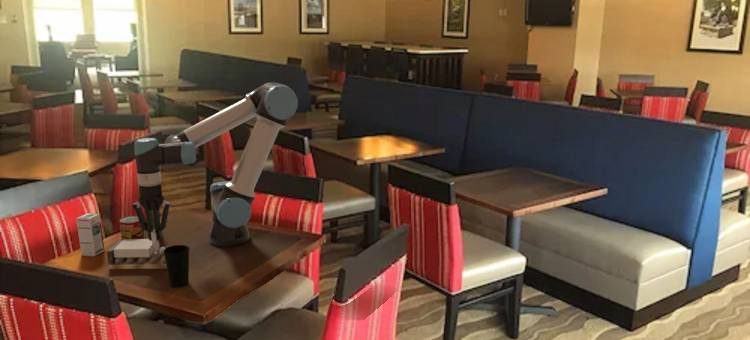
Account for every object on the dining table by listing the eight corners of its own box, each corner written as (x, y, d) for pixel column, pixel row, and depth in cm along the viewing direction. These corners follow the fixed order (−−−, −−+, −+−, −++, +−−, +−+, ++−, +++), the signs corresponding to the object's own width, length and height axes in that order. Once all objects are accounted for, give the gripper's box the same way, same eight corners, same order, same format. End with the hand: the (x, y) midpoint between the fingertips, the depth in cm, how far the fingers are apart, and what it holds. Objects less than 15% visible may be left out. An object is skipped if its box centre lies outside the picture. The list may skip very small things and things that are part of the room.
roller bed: (183, 255, 222) (182, 238, 220) (173, 268, 210) (171, 250, 209) (122, 256, 222) (120, 239, 220) (108, 269, 210) (106, 251, 208)
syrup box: (95, 256, 221) (90, 218, 218) (80, 255, 222) (75, 217, 219) (105, 251, 227) (100, 213, 223) (90, 250, 228) (86, 212, 224)
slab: (159, 246, 220) (158, 238, 219) (149, 257, 210) (148, 248, 209) (125, 247, 220) (124, 239, 219) (114, 257, 210) (113, 249, 209)
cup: (170, 279, 201) (167, 245, 198) (194, 278, 202) (191, 244, 199) (164, 289, 193) (161, 254, 191) (189, 288, 194) (186, 253, 191)
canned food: (118, 251, 226) (115, 220, 224) (137, 244, 233) (134, 214, 230) (131, 255, 222) (128, 223, 219) (150, 248, 228) (147, 218, 226)
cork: (166, 236, 242) (164, 209, 239) (153, 240, 237) (151, 213, 234) (156, 233, 245) (154, 207, 242) (143, 237, 240) (141, 211, 238)
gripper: (126, 186, 205) (133, 253, 211) (165, 186, 205) (171, 252, 211) (134, 181, 213) (141, 245, 218) (172, 180, 213) (178, 245, 218)
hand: (156, 248), depth 215 cm, fingers closed
